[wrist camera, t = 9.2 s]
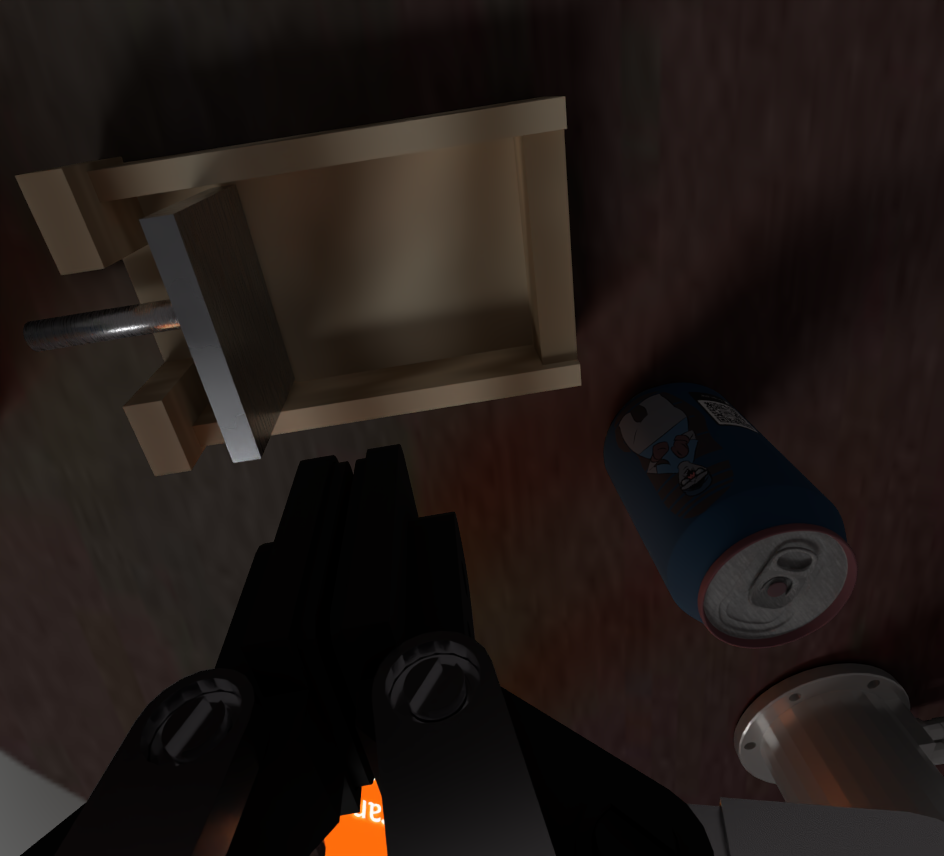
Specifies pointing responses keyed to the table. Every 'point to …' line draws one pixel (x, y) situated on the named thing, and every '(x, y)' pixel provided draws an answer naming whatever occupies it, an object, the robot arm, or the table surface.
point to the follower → (203, 315)
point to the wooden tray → (355, 263)
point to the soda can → (728, 518)
